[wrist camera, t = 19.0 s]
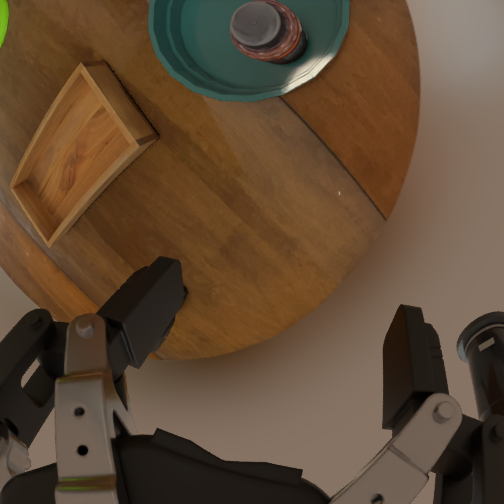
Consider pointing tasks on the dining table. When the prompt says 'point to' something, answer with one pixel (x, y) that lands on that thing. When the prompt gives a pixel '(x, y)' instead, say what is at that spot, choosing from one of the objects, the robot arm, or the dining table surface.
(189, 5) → the bowl
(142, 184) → the dining table surface
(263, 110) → the dining table surface
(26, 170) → the tray
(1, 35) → the wineglass
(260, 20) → the supplement bottle
